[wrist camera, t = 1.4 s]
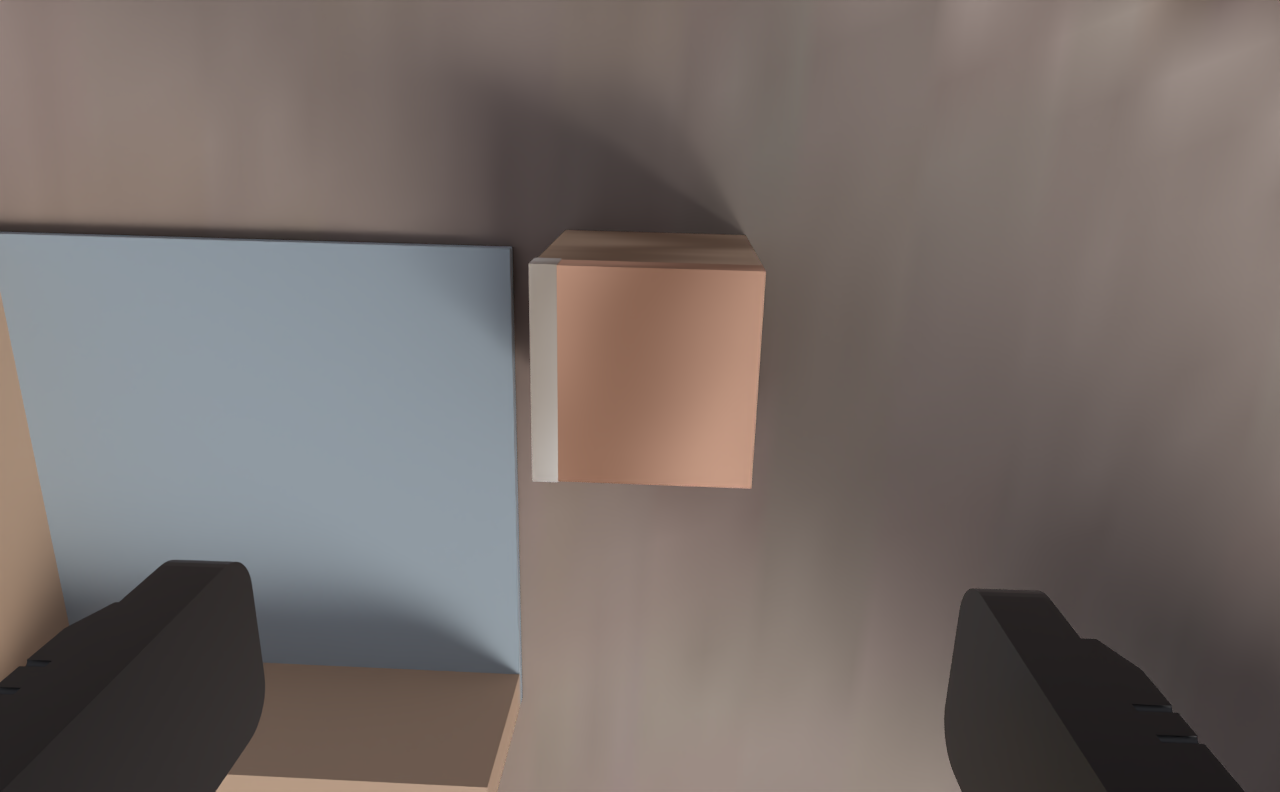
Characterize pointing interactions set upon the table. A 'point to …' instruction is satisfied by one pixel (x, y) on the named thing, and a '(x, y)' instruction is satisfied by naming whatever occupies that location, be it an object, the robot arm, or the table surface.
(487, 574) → the arena
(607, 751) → the table surface
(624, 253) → the block
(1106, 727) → the robot arm
